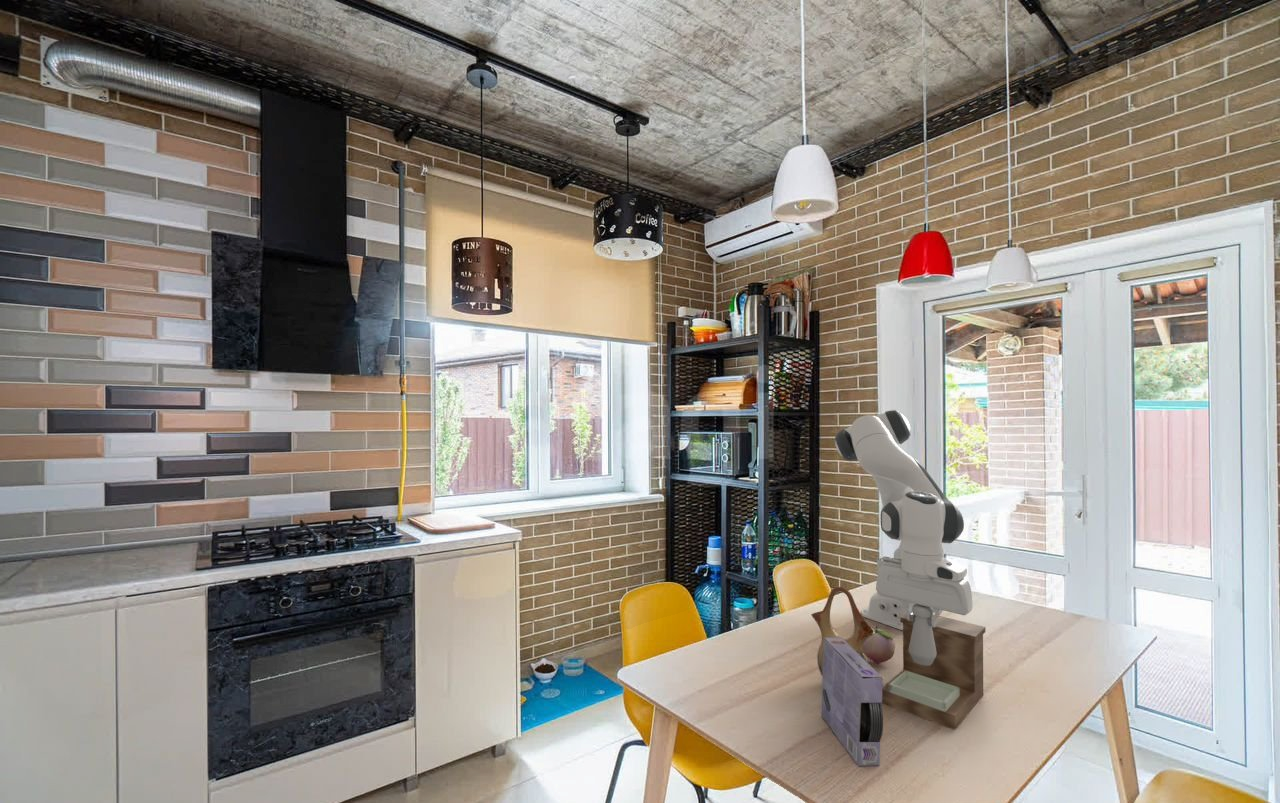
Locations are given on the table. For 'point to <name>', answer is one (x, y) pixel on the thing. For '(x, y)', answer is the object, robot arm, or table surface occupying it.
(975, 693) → the wooden stand
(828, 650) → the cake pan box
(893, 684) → the tray
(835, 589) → the ceramic vessel
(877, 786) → the table surface
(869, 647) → the decorative fruit
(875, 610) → the robot arm
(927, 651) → the salt shaker
